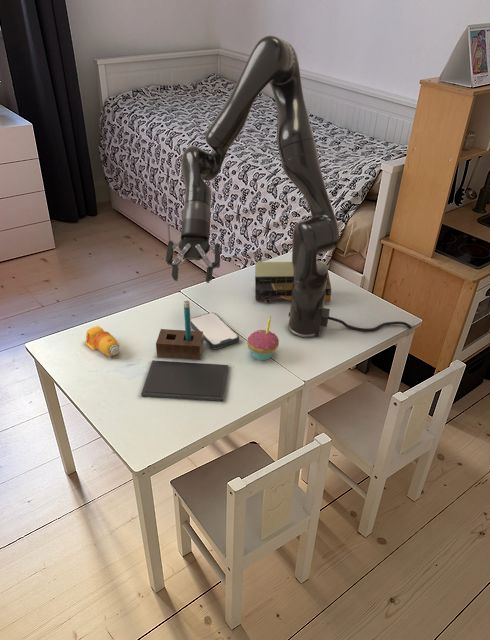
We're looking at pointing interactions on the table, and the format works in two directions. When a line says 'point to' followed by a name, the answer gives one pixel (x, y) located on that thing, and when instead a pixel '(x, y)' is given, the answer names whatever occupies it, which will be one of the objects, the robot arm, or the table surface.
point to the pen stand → (179, 344)
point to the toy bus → (278, 282)
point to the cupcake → (263, 343)
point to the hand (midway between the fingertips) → (191, 281)
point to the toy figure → (101, 341)
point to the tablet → (185, 380)
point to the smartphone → (214, 330)
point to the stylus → (187, 320)
